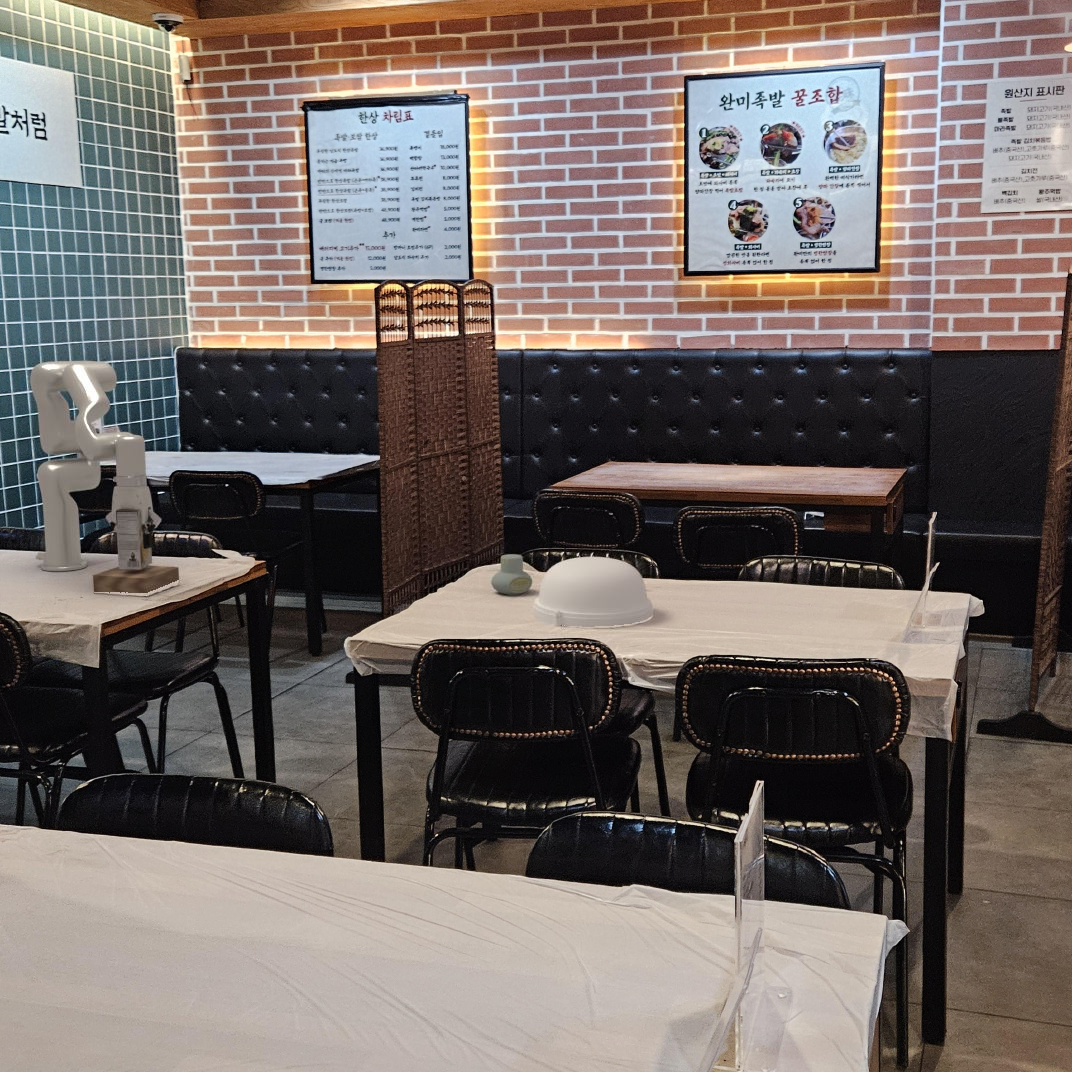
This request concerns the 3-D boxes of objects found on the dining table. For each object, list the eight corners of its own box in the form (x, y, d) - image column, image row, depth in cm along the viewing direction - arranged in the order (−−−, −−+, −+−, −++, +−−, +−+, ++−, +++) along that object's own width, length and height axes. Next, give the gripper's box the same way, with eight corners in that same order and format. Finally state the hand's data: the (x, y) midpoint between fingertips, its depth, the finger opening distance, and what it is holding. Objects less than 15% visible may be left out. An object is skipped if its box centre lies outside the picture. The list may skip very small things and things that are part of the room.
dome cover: (578, 596, 350) (579, 544, 348) (677, 611, 333) (678, 556, 331) (505, 618, 325) (505, 562, 322) (608, 636, 307) (609, 577, 305)
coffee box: (129, 562, 360) (126, 504, 357) (152, 563, 360) (150, 504, 357) (118, 569, 351) (115, 509, 348) (141, 569, 351) (139, 510, 348)
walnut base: (93, 593, 351) (92, 574, 350) (128, 581, 366) (127, 563, 365) (146, 597, 347) (145, 578, 346) (179, 585, 362) (178, 567, 361)
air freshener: (502, 598, 347) (502, 560, 345) (486, 592, 354) (486, 555, 352) (537, 593, 353) (537, 556, 351) (520, 587, 360) (520, 551, 358)
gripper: (94, 482, 350) (98, 547, 353) (152, 484, 345) (155, 551, 349) (111, 478, 357) (114, 543, 360) (168, 481, 353) (171, 546, 356)
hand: (134, 546), depth 354 cm, fingers closed on coffee box, 7 cm apart
